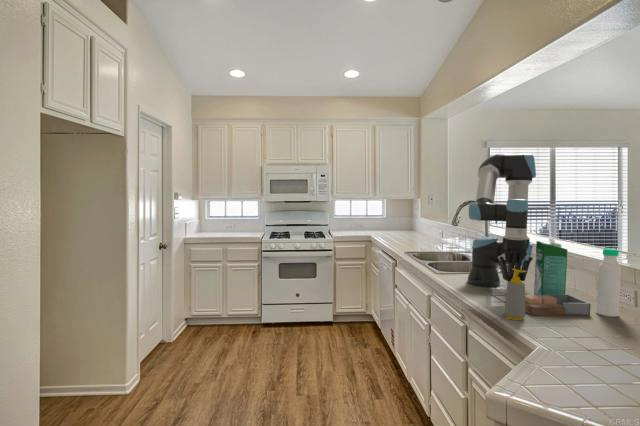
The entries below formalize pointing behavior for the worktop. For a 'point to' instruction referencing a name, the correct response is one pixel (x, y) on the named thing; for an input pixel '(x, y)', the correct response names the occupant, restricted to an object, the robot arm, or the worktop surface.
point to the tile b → (548, 299)
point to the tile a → (533, 299)
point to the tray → (572, 304)
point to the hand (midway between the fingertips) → (513, 298)
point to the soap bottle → (515, 298)
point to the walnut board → (545, 309)
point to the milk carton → (550, 269)
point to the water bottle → (609, 284)
